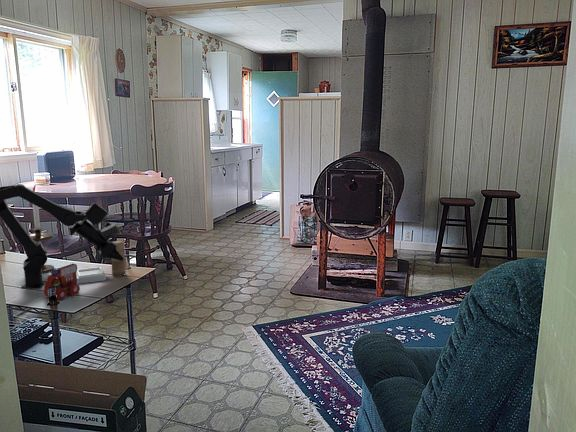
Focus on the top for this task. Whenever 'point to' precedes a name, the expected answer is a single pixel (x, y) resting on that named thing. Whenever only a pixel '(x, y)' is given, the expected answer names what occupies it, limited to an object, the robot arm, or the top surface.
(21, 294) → the top surface
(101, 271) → the base plate
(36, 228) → the candlestick
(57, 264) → the top surface
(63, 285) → the toy fire truck
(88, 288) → the top surface
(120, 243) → the walnut pillar
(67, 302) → the top surface
